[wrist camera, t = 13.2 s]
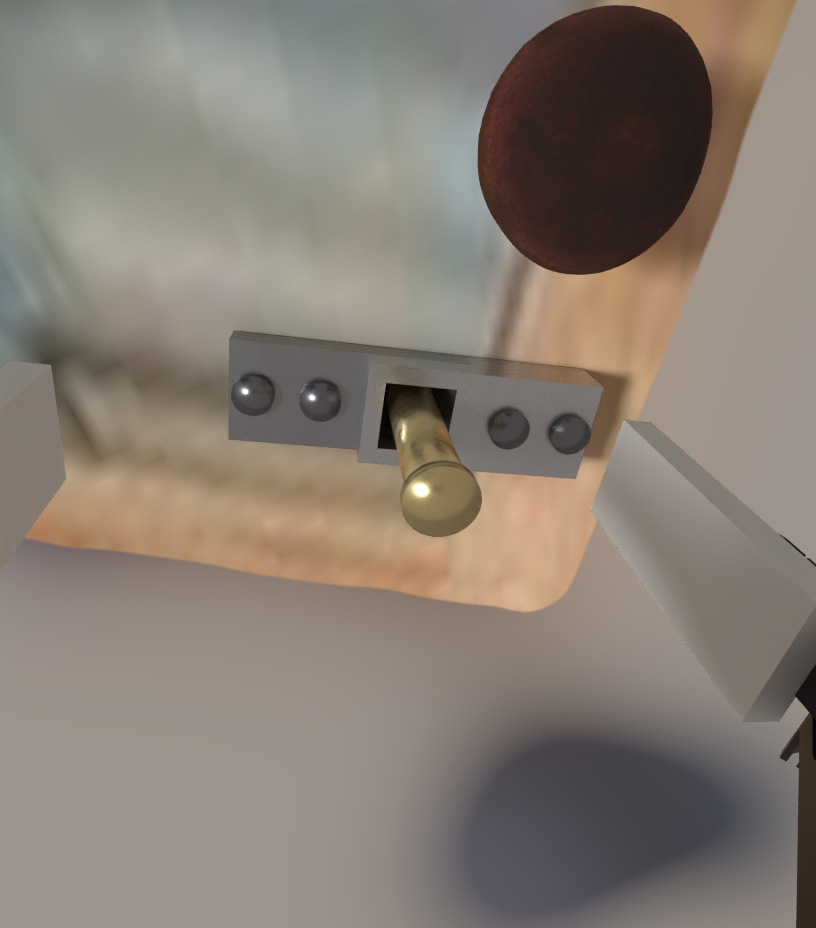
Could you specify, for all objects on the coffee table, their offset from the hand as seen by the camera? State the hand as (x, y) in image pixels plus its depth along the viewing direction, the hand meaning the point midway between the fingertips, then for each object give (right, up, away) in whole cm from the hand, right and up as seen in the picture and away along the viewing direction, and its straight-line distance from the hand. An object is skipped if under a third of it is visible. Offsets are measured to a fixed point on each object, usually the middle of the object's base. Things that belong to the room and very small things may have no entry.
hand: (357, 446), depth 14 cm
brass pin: (+1, +4, +30) cm, 30 cm away
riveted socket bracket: (+1, +4, +30) cm, 30 cm away
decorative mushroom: (+9, +19, +23) cm, 31 cm away
